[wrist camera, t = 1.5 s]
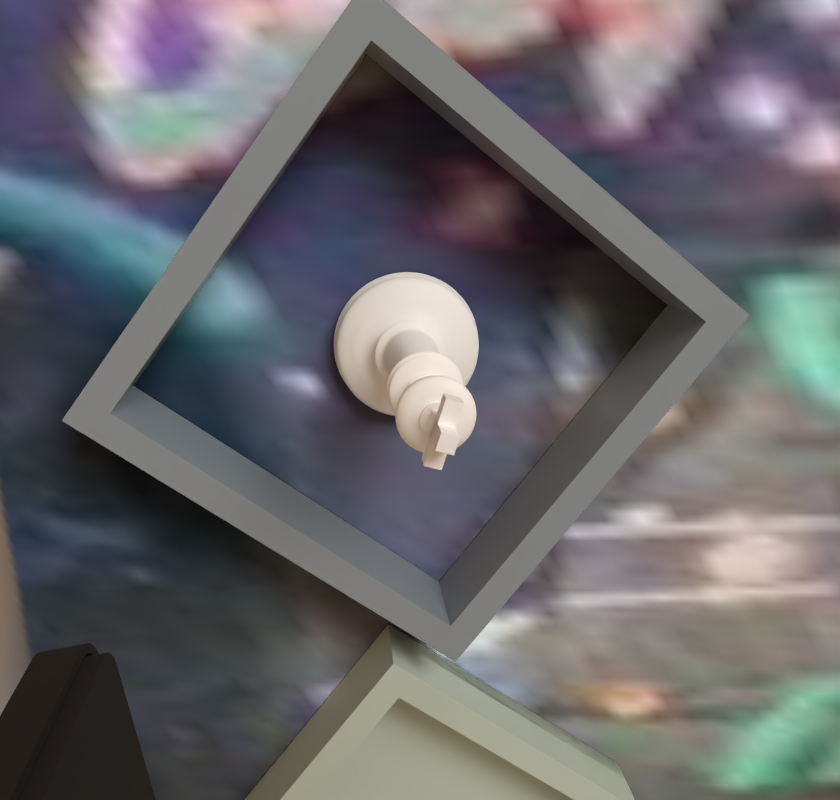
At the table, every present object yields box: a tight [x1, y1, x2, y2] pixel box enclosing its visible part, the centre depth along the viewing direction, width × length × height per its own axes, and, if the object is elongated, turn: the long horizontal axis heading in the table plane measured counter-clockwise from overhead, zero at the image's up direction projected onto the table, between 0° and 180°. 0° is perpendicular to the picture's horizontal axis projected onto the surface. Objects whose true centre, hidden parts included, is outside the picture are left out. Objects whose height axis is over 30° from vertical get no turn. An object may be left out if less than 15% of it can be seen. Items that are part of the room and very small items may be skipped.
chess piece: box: [334, 272, 479, 470], centre depth 22 cm, size 5×5×10 cm
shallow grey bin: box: [62, 0, 749, 662], centre depth 26 cm, size 15×15×3 cm
